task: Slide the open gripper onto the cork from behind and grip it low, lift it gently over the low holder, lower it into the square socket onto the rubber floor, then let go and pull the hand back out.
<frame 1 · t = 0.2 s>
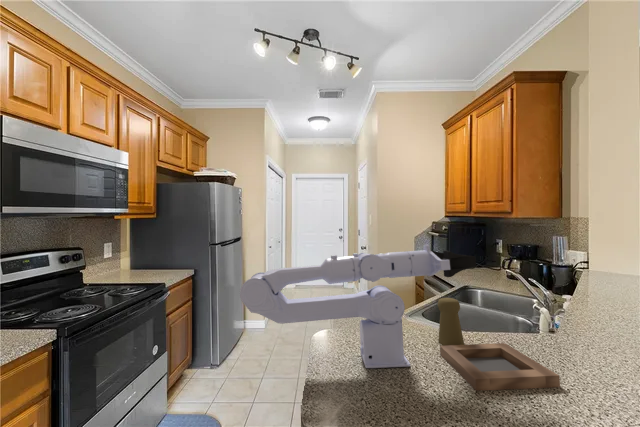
hand: (465, 260, 67), 21 cm above the countertop, tool horizontal, fingers open, 7 cm apart
cork: (451, 343, 72), on the countertop
holder: (492, 368, 59), on the countertop
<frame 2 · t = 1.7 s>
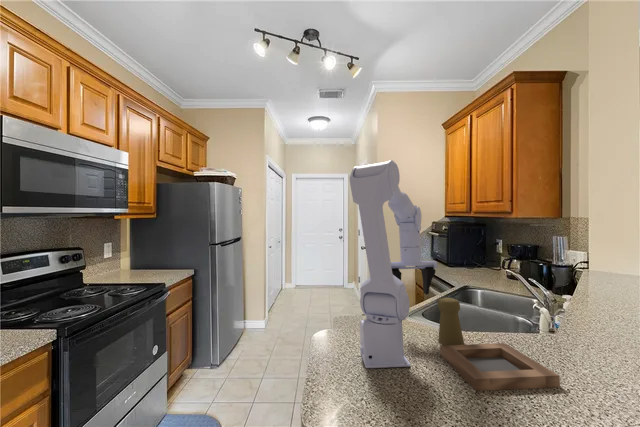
hand: (412, 294, 83), 10 cm above the countertop, tool pointing down, fingers open, 7 cm apart
nothing on the countertop moved.
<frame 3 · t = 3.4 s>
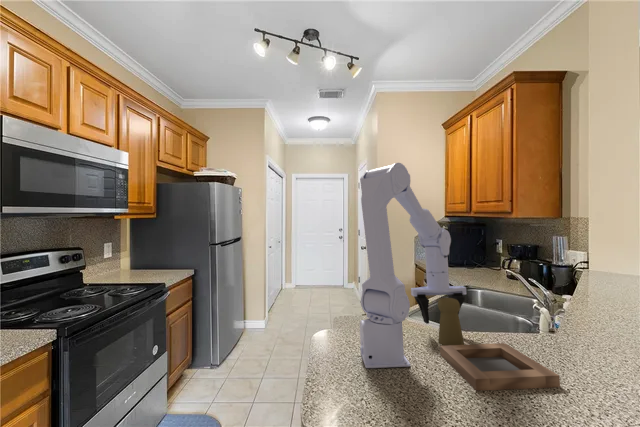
hand: (440, 321, 79), 3 cm above the countertop, tool pointing down, fingers open, 7 cm apart
nothing on the countertop moved.
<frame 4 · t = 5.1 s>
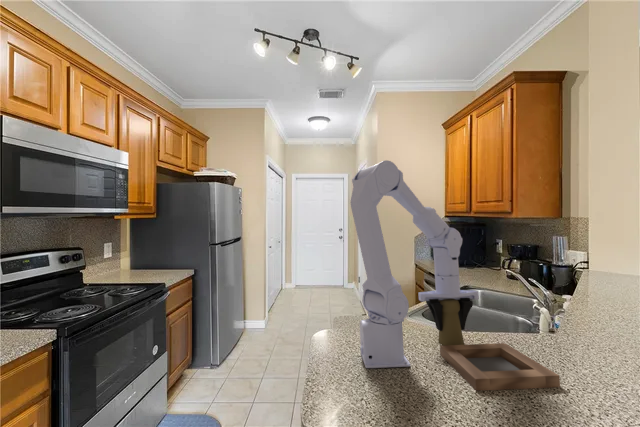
hand: (450, 329, 73), 3 cm above the countertop, tool pointing down, fingers closed on cork, 5 cm apart
cork: (451, 343, 72), on the countertop, touching gripper
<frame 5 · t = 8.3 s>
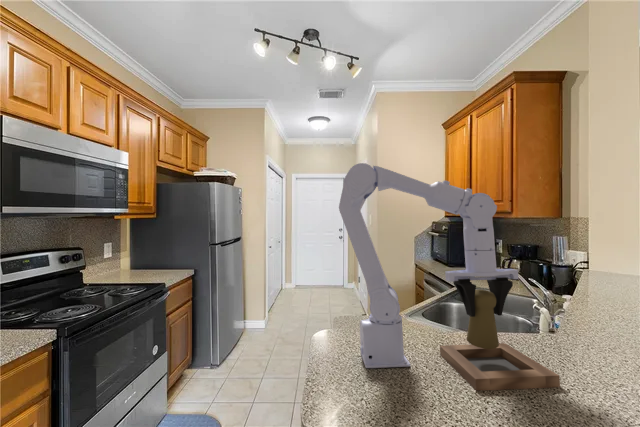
hand: (484, 314, 61), 10 cm above the countertop, tool pointing down, fingers closed on cork, 5 cm apart
cork: (482, 342, 62), point 4 cm above the countertop, touching gripper
when the fingers open (5 cm above the countertop, at t = 10.5 s): cork stays where it is, resting on holder.
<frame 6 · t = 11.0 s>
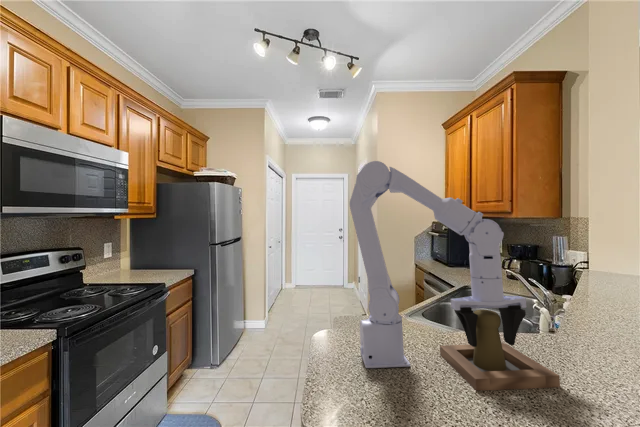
hand: (490, 344, 59), 5 cm above the countertop, tool pointing down, fingers open, 7 cm apart
cork: (489, 365, 60), resting on holder
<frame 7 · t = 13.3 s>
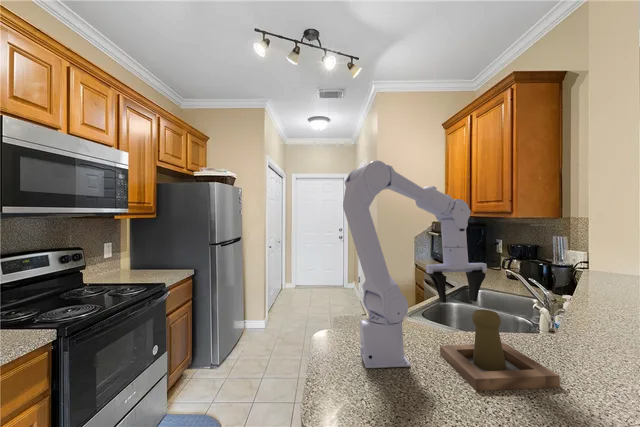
hand: (458, 301, 72), 10 cm above the countertop, tool pointing down, fingers open, 7 cm apart
nothing on the countertop moved.
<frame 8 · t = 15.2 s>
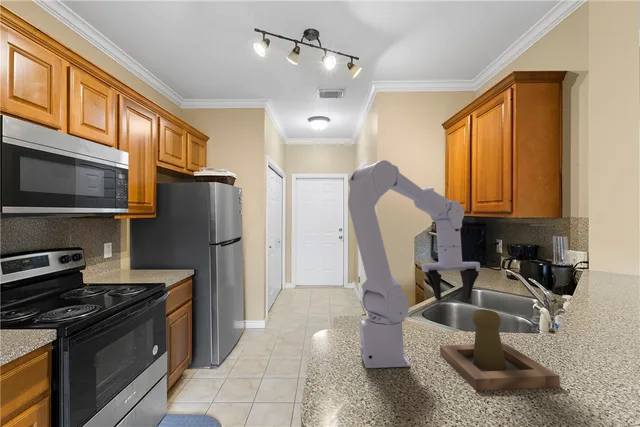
hand: (452, 298, 75), 10 cm above the countertop, tool pointing down, fingers open, 7 cm apart
nothing on the countertop moved.
at the end: cork 1.4 cm off-centre on the holder, point 0.0 cm above the holder's base; cork tilted 0°; the gripper is holding nothing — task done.
